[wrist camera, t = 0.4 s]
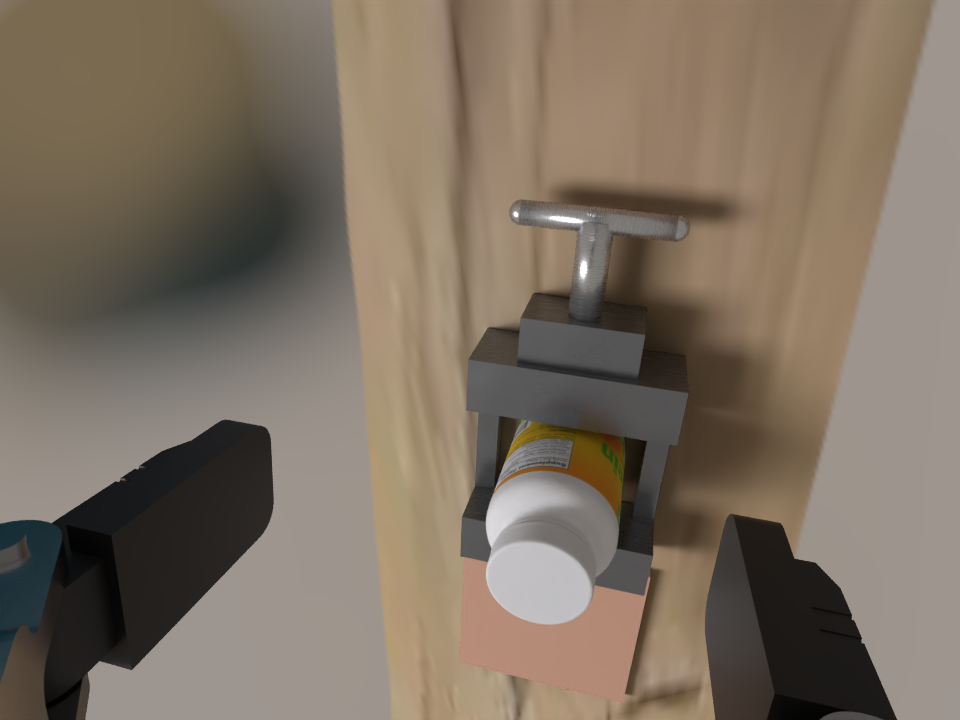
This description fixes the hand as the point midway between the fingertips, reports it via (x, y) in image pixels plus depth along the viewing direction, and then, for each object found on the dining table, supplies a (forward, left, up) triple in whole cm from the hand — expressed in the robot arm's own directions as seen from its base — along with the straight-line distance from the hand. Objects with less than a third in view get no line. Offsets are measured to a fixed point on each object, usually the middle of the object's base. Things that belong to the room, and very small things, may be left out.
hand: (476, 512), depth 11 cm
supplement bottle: (+10, +1, -19) cm, 21 cm away
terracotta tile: (+22, +1, -19) cm, 29 cm away
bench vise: (+7, +1, -19) cm, 20 cm away
